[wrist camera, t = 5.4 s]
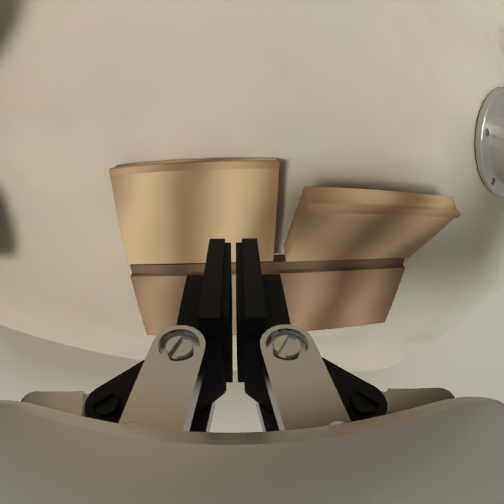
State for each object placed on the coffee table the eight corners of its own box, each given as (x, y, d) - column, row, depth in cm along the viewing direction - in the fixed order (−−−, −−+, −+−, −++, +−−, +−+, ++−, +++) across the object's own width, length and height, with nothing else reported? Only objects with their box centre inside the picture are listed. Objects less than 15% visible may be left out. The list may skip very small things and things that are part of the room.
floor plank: (399, 251, 26) (407, 260, 25) (379, 312, 30) (384, 322, 29) (133, 258, 24) (128, 268, 23) (150, 323, 28) (147, 335, 27)
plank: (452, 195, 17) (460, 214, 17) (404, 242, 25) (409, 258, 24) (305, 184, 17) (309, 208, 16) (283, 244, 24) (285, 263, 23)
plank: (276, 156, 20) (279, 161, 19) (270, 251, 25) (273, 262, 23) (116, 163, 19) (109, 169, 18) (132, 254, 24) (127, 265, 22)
